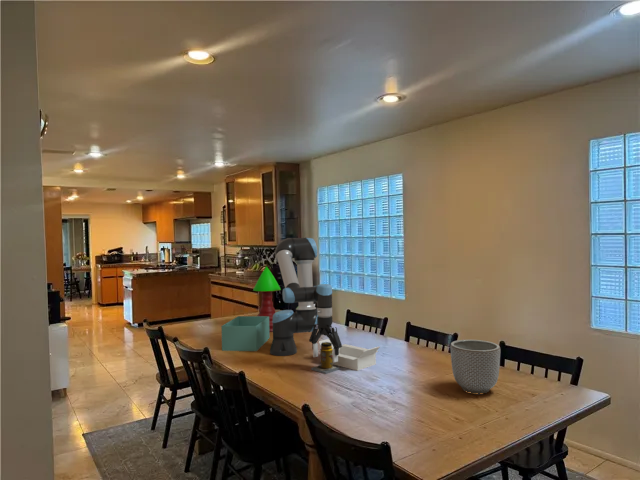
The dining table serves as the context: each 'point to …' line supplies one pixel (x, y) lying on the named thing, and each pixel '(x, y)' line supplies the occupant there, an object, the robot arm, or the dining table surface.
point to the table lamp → (267, 294)
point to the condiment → (326, 356)
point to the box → (245, 333)
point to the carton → (354, 356)
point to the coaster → (325, 370)
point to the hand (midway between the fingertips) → (325, 359)
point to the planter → (475, 364)
